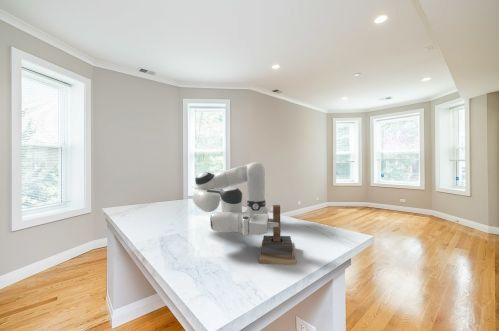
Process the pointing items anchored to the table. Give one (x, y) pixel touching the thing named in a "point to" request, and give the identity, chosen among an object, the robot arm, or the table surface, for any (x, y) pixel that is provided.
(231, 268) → the table surface
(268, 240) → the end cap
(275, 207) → the walnut slat
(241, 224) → the robot arm
